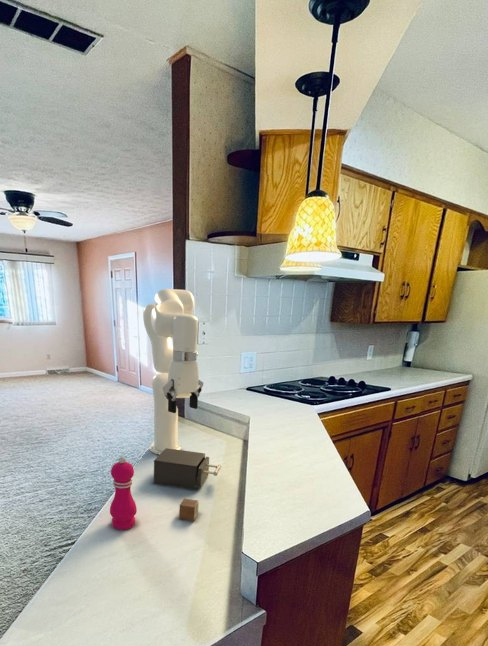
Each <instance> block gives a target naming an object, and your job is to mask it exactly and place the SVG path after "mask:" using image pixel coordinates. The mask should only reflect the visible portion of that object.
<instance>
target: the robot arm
mask: <svg viewBox="0 0 488 646" xmlns="http://www.w3.org/2000/svg"><path fill="white" fill-rule="evenodd" d="M194 309H195V298H194V296H193V294H192V292H191V291H189V290H187V289H177V288H175V289H174V288H162V289H160V290H158V291H157V292H156V293H155V295H154V303H149V304H146V305H145V306H144V308H143V312H142V318H143V319H142V320H143V325H144V328H145V331H146V334H147V337H148V338H149V341H150V345H151V355H152V363H153V368H154V370H155V371H156V372H157V374H155V375H154V376H153V377H152V380H151V381H152V382H151V389H152V394H153V444H151V445H150V446H149V450H150V452H151V453H153V454H155V455H157V456H159V455H160V454H161V453H162V452H163V451H164V450H165V449H166V448H169V449H176V450H182V448H181V446H180V445H178V431H179V428H178V427H179V408H178V406H177V400H176V399H189V404H188V405H189V408H191V409H194V410H197V409H198V404H199V397H200V394H201V392H202V390H203V387H204V381H202V380H201V379H199V364H198V361H197V360H198V359H197V357H198V354H199V353H198V333H199V320H198V318H197V316H195V315H193V311H194Z"/></svg>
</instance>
